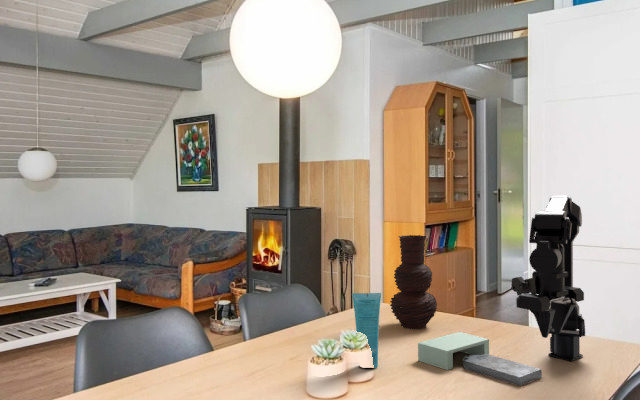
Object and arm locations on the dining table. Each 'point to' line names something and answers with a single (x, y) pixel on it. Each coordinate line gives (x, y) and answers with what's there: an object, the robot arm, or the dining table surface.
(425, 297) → the vase
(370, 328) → the tube
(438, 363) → the pale mint green box
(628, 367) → the dining table surface
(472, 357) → the grey flat block
